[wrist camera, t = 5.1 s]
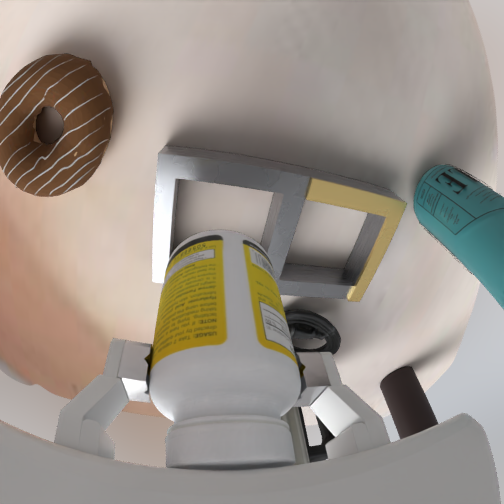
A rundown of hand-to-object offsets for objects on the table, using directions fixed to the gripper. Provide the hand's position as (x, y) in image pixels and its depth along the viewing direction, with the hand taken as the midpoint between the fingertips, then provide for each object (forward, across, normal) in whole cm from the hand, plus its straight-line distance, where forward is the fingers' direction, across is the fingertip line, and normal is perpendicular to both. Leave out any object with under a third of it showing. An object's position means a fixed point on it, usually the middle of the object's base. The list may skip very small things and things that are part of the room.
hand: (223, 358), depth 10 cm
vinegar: (+12, -35, +26) cm, 45 cm away
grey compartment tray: (+13, -5, +1) cm, 14 cm away
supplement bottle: (+6, 0, 0) cm, 6 cm away
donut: (+14, +13, -5) cm, 20 cm away
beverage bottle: (+13, -18, -5) cm, 23 cm away
